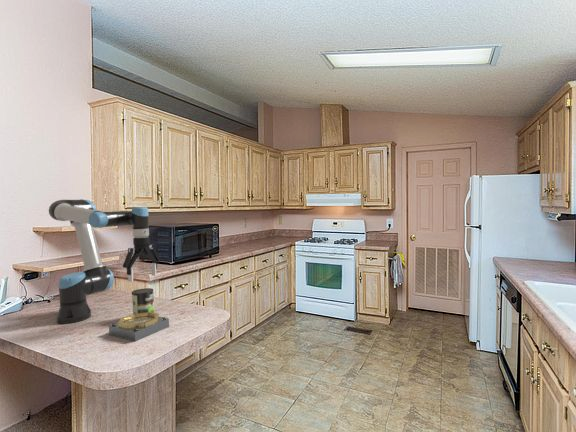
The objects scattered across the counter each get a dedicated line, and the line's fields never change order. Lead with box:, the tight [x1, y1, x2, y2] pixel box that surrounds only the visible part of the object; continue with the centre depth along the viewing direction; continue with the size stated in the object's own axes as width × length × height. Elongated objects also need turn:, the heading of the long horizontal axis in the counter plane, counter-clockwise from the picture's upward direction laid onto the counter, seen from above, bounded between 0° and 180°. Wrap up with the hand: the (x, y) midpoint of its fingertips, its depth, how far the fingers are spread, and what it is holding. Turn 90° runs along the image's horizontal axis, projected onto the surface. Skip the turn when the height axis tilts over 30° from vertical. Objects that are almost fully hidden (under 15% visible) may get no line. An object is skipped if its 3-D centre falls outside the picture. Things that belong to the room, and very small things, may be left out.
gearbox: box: [108, 312, 170, 342], centre depth 150 cm, size 18×18×6 cm
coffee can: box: [131, 287, 155, 314], centre depth 168 cm, size 10×10×14 cm
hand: (143, 278), depth 167 cm, fingers open, 13 cm apart
